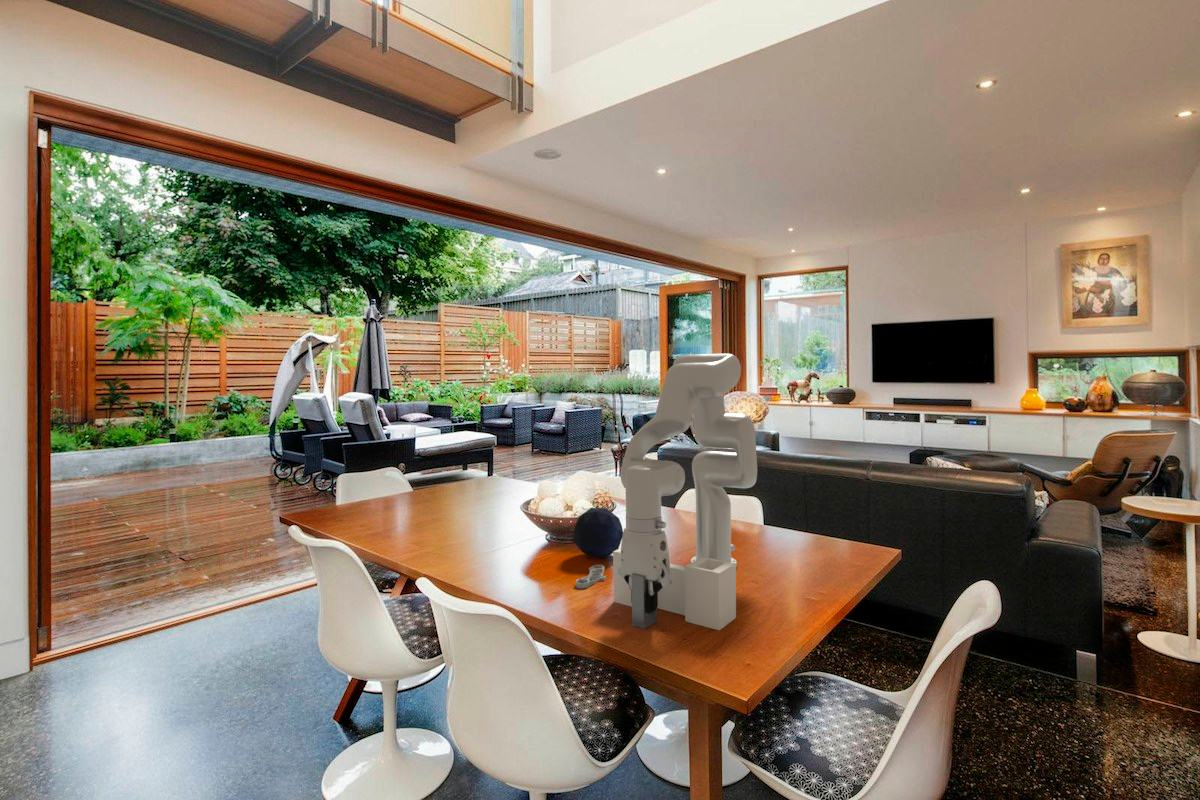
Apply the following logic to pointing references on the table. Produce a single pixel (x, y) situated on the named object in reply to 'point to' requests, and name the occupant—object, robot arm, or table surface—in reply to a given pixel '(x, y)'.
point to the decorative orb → (598, 533)
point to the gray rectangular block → (641, 603)
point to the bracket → (591, 577)
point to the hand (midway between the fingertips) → (644, 608)
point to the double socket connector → (692, 591)
